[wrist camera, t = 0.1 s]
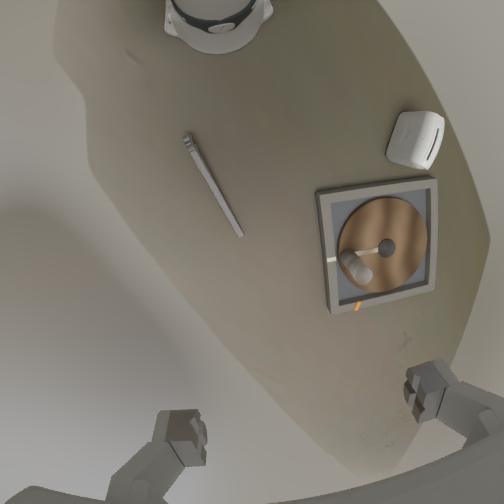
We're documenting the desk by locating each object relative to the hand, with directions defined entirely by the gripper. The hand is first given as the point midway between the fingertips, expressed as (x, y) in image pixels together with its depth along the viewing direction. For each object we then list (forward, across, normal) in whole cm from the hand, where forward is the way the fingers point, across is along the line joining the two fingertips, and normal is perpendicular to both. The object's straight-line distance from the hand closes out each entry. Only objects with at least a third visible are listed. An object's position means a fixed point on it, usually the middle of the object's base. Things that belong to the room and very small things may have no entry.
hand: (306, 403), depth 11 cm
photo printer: (+48, -29, -5) cm, 56 cm away
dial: (+47, -23, +15) cm, 54 cm away
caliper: (+48, +6, -1) cm, 49 cm away
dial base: (+48, -23, +15) cm, 55 cm away
